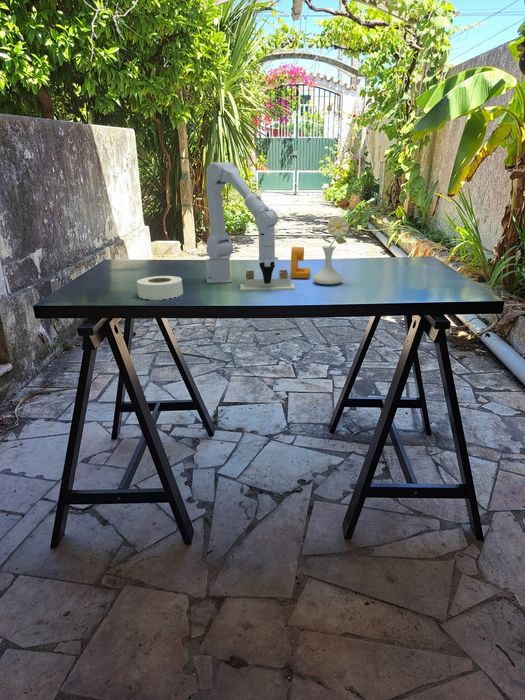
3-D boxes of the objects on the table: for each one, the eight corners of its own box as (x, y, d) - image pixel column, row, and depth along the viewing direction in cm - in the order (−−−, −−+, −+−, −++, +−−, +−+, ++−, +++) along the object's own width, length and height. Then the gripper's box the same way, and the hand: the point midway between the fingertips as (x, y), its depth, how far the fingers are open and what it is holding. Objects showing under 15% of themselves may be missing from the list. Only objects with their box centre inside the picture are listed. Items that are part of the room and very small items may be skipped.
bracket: (308, 279, 189) (309, 249, 185) (290, 279, 191) (290, 249, 186) (310, 274, 199) (310, 245, 195) (292, 274, 200) (293, 245, 196)
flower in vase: (309, 285, 180) (310, 217, 171) (316, 279, 190) (318, 214, 181) (343, 287, 176) (346, 217, 167) (349, 281, 186) (352, 214, 177)
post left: (246, 284, 184) (245, 273, 183) (246, 281, 189) (246, 270, 187) (253, 283, 184) (253, 273, 183) (254, 281, 189) (253, 270, 187)
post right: (279, 283, 184) (279, 272, 183) (279, 280, 189) (279, 270, 187) (287, 283, 184) (287, 272, 183) (286, 280, 189) (286, 269, 187)
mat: (240, 290, 174) (240, 289, 174) (240, 285, 182) (240, 284, 181) (295, 289, 174) (295, 288, 174) (293, 284, 182) (293, 283, 182)
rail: (244, 287, 177) (244, 280, 176) (244, 285, 179) (244, 279, 178) (290, 286, 177) (290, 279, 176) (290, 284, 179) (290, 278, 178)
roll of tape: (142, 290, 178) (140, 275, 176) (184, 289, 179) (183, 274, 177) (134, 301, 163) (132, 285, 161) (181, 300, 164) (179, 284, 162)
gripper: (278, 248, 166) (278, 286, 171) (277, 242, 179) (277, 278, 184) (258, 248, 166) (259, 287, 171) (258, 242, 179) (258, 278, 184)
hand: (267, 282), depth 177 cm, fingers closed on rail, 2 cm apart
